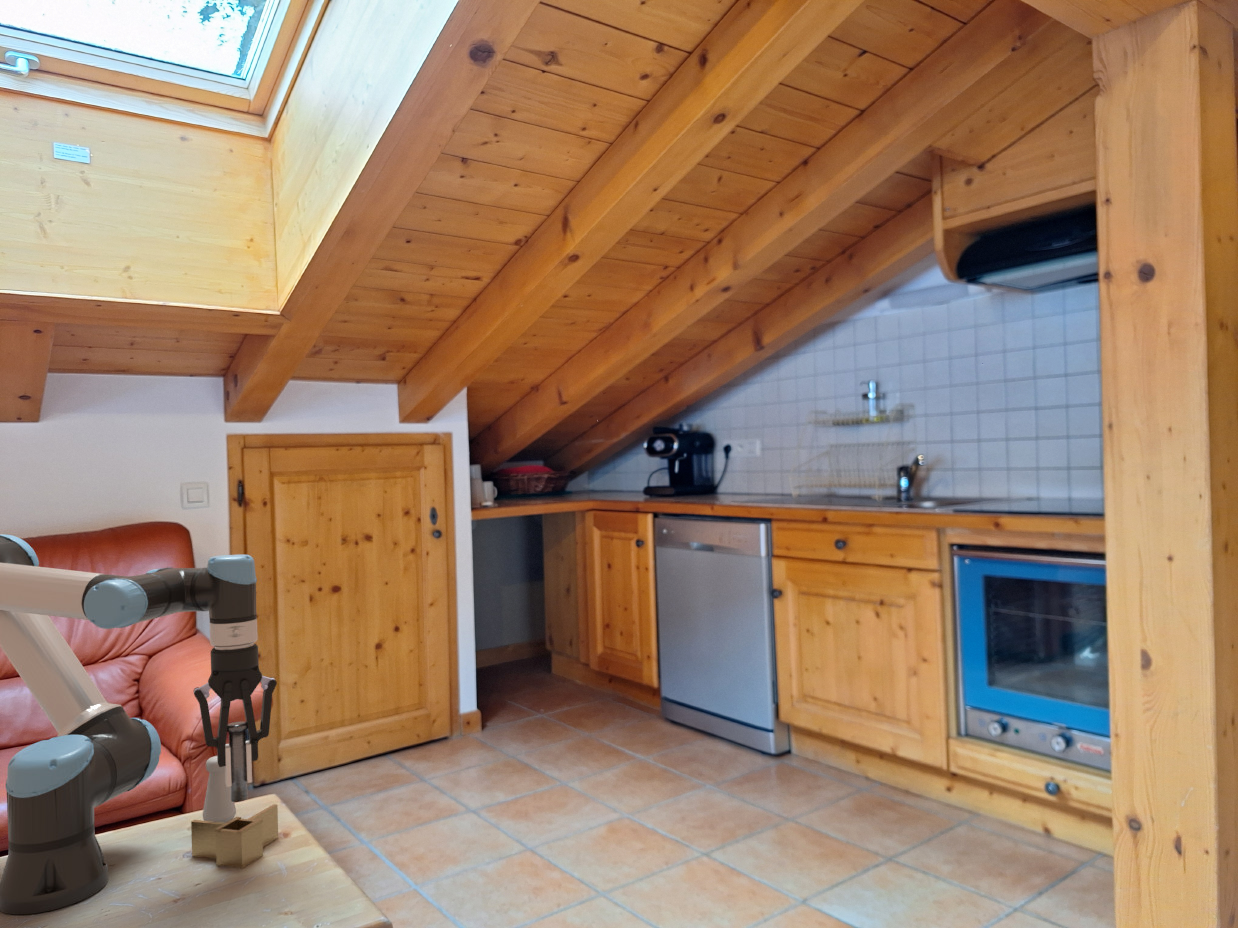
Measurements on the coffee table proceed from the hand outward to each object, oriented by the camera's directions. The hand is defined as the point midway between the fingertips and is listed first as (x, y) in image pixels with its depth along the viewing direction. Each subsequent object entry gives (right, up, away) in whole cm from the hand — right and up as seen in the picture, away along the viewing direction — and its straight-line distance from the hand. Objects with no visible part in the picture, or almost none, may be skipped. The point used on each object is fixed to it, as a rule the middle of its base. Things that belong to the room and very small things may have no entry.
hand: (238, 781), depth 152 cm
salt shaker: (-10, -14, +15) cm, 23 cm away
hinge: (-2, -14, +4) cm, 14 cm away
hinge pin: (0, -3, 0) cm, 3 cm away
